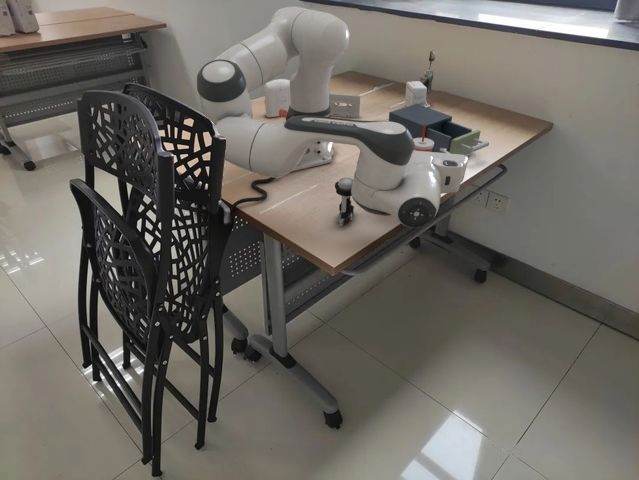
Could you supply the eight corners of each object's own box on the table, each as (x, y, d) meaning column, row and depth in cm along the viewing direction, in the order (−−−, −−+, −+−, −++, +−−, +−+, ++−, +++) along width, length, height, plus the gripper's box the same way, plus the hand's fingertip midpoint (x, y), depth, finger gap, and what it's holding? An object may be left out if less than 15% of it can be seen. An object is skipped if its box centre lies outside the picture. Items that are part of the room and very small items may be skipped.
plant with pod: (436, 101, 173) (444, 46, 161) (426, 111, 165) (435, 53, 153) (415, 98, 176) (422, 43, 165) (405, 107, 168) (412, 50, 156)
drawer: (490, 156, 132) (495, 136, 128) (465, 167, 127) (470, 146, 123) (441, 136, 144) (444, 117, 140) (416, 145, 138) (419, 126, 135)
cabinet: (448, 141, 143) (452, 116, 138) (421, 151, 137) (424, 126, 132) (413, 127, 153) (416, 103, 148) (387, 136, 146) (389, 112, 142)
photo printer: (290, 110, 166) (289, 76, 159) (295, 114, 163) (293, 79, 156) (264, 115, 162) (261, 80, 155) (268, 119, 159) (265, 83, 152)
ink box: (424, 122, 156) (428, 88, 149) (409, 123, 155) (413, 88, 148) (416, 113, 163) (420, 80, 156) (402, 114, 162) (406, 81, 155)
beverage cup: (402, 171, 127) (408, 123, 118) (417, 165, 130) (424, 118, 121) (418, 179, 123) (425, 130, 115) (434, 173, 126) (442, 124, 117)
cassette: (325, 115, 162) (325, 94, 157) (327, 113, 163) (327, 92, 159) (358, 118, 159) (359, 96, 155) (359, 116, 161) (360, 95, 156)
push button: (350, 230, 103) (352, 191, 97) (328, 225, 105) (329, 187, 99) (359, 215, 108) (361, 178, 102) (338, 211, 110) (339, 174, 104)
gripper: (371, 183, 102) (378, 157, 113) (465, 193, 98) (463, 165, 109) (373, 157, 98) (380, 133, 109) (470, 166, 95) (468, 140, 106)
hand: (422, 149), depth 109 cm, fingers open, 8 cm apart
